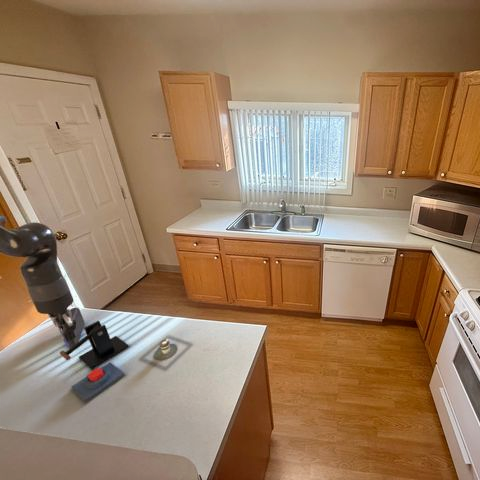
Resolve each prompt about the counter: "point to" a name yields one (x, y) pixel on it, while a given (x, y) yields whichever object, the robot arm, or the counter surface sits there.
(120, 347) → the bracket
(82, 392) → the button box
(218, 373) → the counter surface
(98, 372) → the button
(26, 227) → the robot arm
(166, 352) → the brass knob on disc
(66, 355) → the lever
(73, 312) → the leaning round-cornered charcoal block
